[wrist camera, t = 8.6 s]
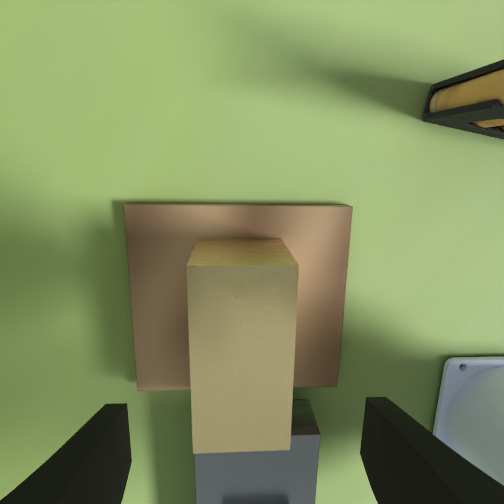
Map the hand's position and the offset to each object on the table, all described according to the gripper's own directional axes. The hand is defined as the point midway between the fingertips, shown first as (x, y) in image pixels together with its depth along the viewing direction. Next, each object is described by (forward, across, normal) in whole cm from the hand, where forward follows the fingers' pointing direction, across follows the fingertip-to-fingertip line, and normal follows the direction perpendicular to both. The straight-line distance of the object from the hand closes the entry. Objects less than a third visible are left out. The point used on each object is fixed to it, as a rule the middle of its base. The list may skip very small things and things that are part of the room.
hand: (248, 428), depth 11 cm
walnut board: (+10, 0, 0) cm, 10 cm away
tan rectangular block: (+10, 0, +1) cm, 10 cm away
